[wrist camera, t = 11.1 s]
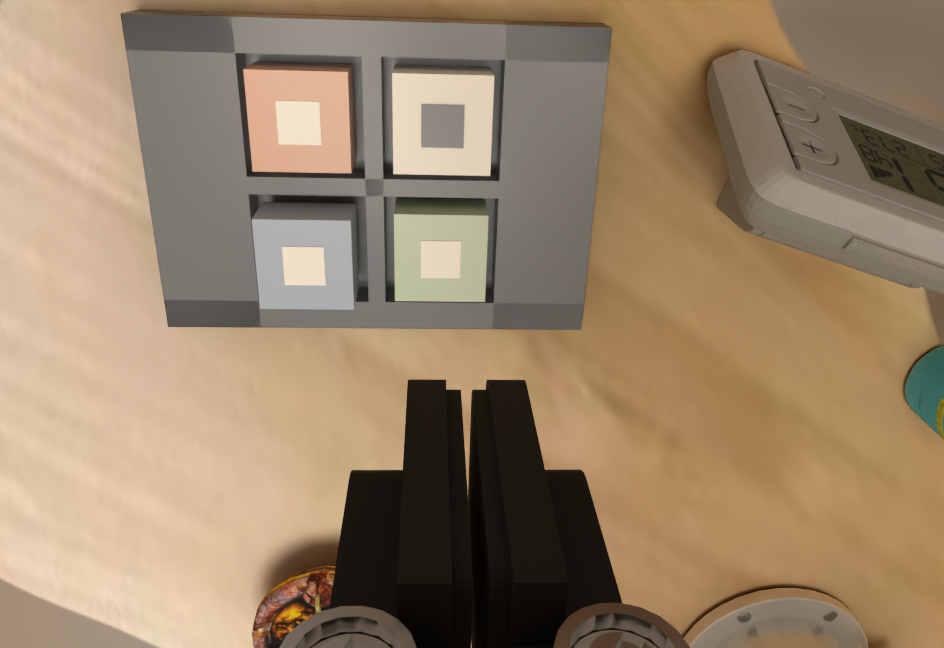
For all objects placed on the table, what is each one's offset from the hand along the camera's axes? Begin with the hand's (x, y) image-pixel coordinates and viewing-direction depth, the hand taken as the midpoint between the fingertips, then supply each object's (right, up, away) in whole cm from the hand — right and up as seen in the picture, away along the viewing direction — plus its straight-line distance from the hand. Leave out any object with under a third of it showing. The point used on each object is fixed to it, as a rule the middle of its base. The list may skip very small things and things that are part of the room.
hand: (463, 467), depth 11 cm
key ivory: (-1, +12, +24) cm, 27 cm away
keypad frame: (-4, +9, +25) cm, 27 cm away
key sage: (-1, +6, +26) cm, 27 cm away
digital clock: (+18, +10, +26) cm, 33 cm away
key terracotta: (-7, +12, +24) cm, 27 cm away
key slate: (-7, +6, +25) cm, 27 cm away
